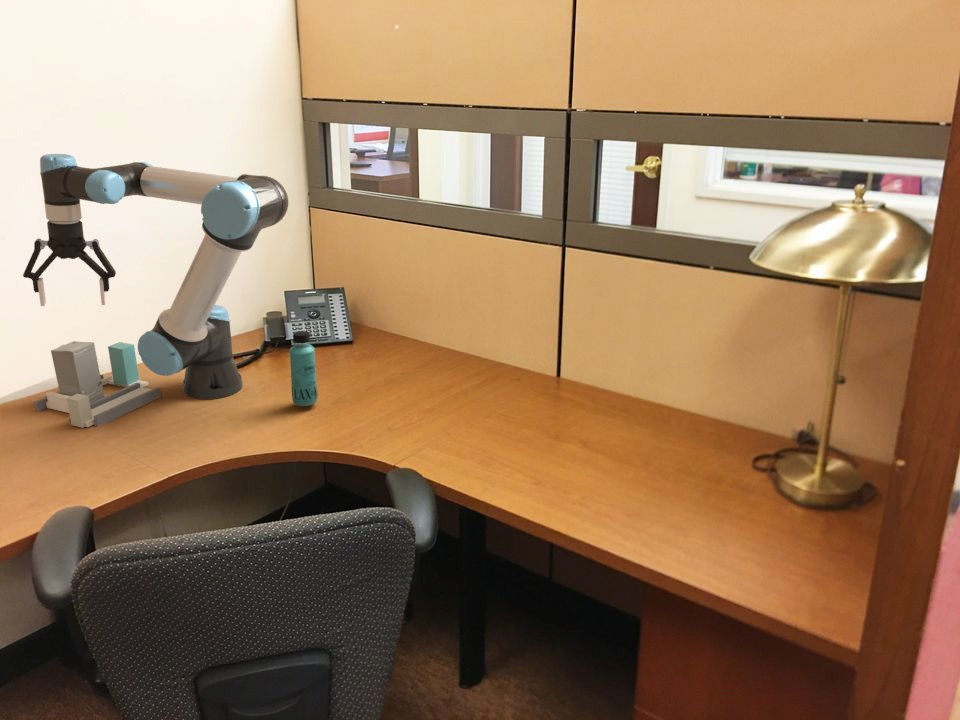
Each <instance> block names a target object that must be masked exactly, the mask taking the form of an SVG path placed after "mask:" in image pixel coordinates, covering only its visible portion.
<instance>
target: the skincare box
mask: <svg viewBox="0 0 960 720" xmlns="http://www.w3.org/2000/svg"><path fill="white" fill-rule="evenodd" d="M95 346H96V345H95V342H92V341H76V340H75V341H71V342H69V343H66V344H62V345H59V346H58V347H56V348H54V349H51V350H50V352H51V353H50V354H51V357H52V358H51V359H52V363H53V368H54V373H55V377H56V381H57V385H58V386H57V387H58V392H59V391H60V394H63V395H67V396H73V395H75V394H81V395H85V396H88V397H89V403H92V402H94V401H96V400H98V399H101V398H103V397H105V393H104V388H103V386H102V382H101V377H100V375H101V374H100V373H101V372H100V369H99V367H100V366H99V361H98V356H97V351H96V347H95Z"/></svg>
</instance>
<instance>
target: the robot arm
mask: <svg viewBox="0 0 960 720" xmlns="http://www.w3.org/2000/svg"><path fill="white" fill-rule="evenodd" d="M76 161H77V160H76V158H75V156H73V155H71V154H66V153H48V154H43V155H42V156H41V157H40V158H39V167H40V172H39V175H40V176H41V177H40V178H41V183H42V184H41V185H42V192H43V193H42V194H43V200H44V210H45V217H46V219H47V220H48V221H47V222H46V226H47V235H48V240H42V239H41V238H37V239H36V240H35V241H34V243H33V245H34V246H33V252H32V254H31V256H30V259H29V260H28V263H27V266H26V267H25V270H24V272H23V273H22V276H23V278H25V279H29V280H31V282H32V286H33V287H32V288H33V291H34V293H38V296H39V303H40V307H45V306H46V303H47V301H46V300H47V298H46V292H45V291H46V290H45V284H44V277H41V276H42V274H44V272H45V271H46V270H47V268H49V266H51V264H52V263H53V261H55V260H56V258H59V259H61V260H66V259H71V260H76V259H77V258H78V259H80V260H81V261H82V262H84V264H86V265H87V266H88V267H89V268H90V269H91V270H93V271H94V273H96V274H97V275H98V276H99V277H100V278H99V280H98V282H99V290H100V291H99V292H100V301H101V306H106V303H107V298H106V293H107V292H109V290H110V282H109V280H110V278H115V277H116V275H117V272H116V270H115V269H114V267H113V265H112V264H111V262H110V261H109V259H108V258H107V255H105V253H104V252H103V250H102V249H101V247H100V241H99V240H98V239H97V238H95V239H93V240H86V239H85V236H84V226H83V221H81V219H82V218H83V216H82V208H81V200H82V201H88V202H93V203H97V204H98V203H99V204H101V205H104V204H105V205H107V204H108V205H115V204H118V203H119V202H120V201H121V200H122V199H123V198H125V197H130V196H131V197H132V196H140V197H147V198H148V197H149V198H156V199H162V200H169V201H175V202H182V203H189V204H195V205H200V212H201V213H200V214H201V215H202V219H201V220H202V224H201V227H202V228H201V229H202V231H203V233H204V235H203V238H202V241H201V243H200V245H199V247H198V248H197V251H196V253H195V256H194V258H193V259H192V261H191V263H190V264H191V265H190V266H189V268H188V271H187V272H186V274H185V276H184V279H183V281H182V283H181V285H180V287H179V289H178V292H177V294H176V296H175V298H174V300H173V302H172V304H171V306H170V308H168V309H164V310H162V311H161V312H160V314H159V316H158V318H157V319H156V322H155V324H154V326H153V328H152V329H151V330H148V331H145V332H144V333H143V334H142V335H141V336H140V337H139V338H138V341H137V352H138V355H139V356H140V359H141V361H142V363H143V364H144V366H145V367H146V368H147V369H149V370H150V371H151V372H152V373H154V374H156V375H159V376H163V377H169V376H172V375H175V374H178V373H180V372H181V371H183V370H185V372H184V380H182V381H183V382H182V391H183V394H184V395H185V396H187V397H189V398H192V399H196V400H197V399H198V400H213V399H214V400H215V399H220V398H225V397H228V396H231V395H234V394H236V393H238V392H240V390H242V388H243V387H244V386H243V377H242V375H241V374H240V373H239V370H238V366H237V364H236V362H235V360H234V353H233V345H232V334H231V320H230V316H229V311H228V309H227V308H226V307H224V306H222V305H218V304H216V303H217V301H218V299H219V297H220V295H221V294H222V291H223V289H224V287H225V285H226V283H227V281H228V280H229V277H230V275H231V273H232V271H233V270H234V267H235V265H236V264H237V262H238V260H239V257H240V255H241V254H242V252H248V251H249V250H251V249H252V248H253V246H254V244H255V242H256V240H257V237H258V236H259V234H260V232H261V231H262V230H264V229H266V228H269V227H272V226H275V225H277V224H278V223H280V222H281V221H283V219H284V217H285V216H286V214H287V211H288V209H289V196H288V193H287V191H286V189H285V188H284V186H283V185H282V184H281V182H279V181H278V180H277V179H275V178H273V177H271V176H267V175H256V174H255V175H254V174H246V173H245V174H244V173H243V174H240V175H238V176H237V177H234V176H230V175H229V176H228V175H227V176H226V175H222V174H221V175H219V174H213V173H205V172H197V171H190V170H183V169H175V168H167V167H161V166H160V167H158V166H154V165H152V164H151V163H148V162H145V161H143V162H141V161H133V162H130V163H125V164H119V165H113V166H112V165H111V166H104V167H98V168H96V167H95V168H89V167H82V166H79V165H78V164H77V162H76ZM46 246H47V247H48V248H49V249H50V250H51V253H50V255H49V256H48V257H47V258H46V259H45V260H44V262H43V263H42V264H41V265H39V267H38V269H36V271H35V272H32V270H33V269H34V267H35V264H36V263H37V260H38V258H39V256H40V253H41V252H42V250H44V249H45V248H46ZM86 247H89V249H90V250H92V251H93V252H94V254H95V256H96V257H97V259H98V260H99V262H100V263H101V264H102V266H103V267H104V269H103V268H102V267H101V266H100V265H99V264H98V263H97V262H96V261H95V260H94V259H93V258H92V257H91V255H89V254H88V253H87V252H86V251H85V249H86Z"/></svg>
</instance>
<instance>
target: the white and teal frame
mask: <svg viewBox="0 0 960 720" xmlns="http://www.w3.org/2000/svg"><path fill="white" fill-rule="evenodd" d="M107 349H108V350H107V351H108V355H109V362H110V368H111V374H112V375H108V376H105V377H104V378H103V379H101V382H102V387H103V386H105V385H107V384H109V385H113V386H118V387H122V388H126V387H128V386H130V385H132V384H135V383H140V387H142V388H145V387H147V386H149V381H147V380H146V381H144V380H140V377H139V369H138V363H137V362H138V361H137V355H136V350H135V349H136V348H135V344H132V343H127V342H123V341H122V342H121V341H119V342H117V343H114V344H111V345H109V346H107ZM46 397H47V399H48V402H46V405H47V408H46V409H51V410H55V411H59V412H63V413H68V414H69V409H68V403H67V398H68V397H70V396H67V395H63V394H59V393H56V392H53V391H50V390H49V391H48V392H46Z"/></svg>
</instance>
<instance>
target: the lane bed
mask: <svg viewBox="0 0 960 720" xmlns="http://www.w3.org/2000/svg"><path fill="white" fill-rule="evenodd" d="M100 377H101V379H103V378H105V377H104V375H103V374H100ZM138 388H140V383H135V384H132V385H130V386H128V387H122V388H121V389H119V390H116V391H114V392H112V393H110V394H108V395H104V397H103V398H101V399H98V400H96V401H94V402H92V403H90V408H91V409H93V408H96V407H98V406H100V405H102V404H105V403H107V402H109V401H111V400H113V399H116V398H118V397H120V396H122V395H125V394H127V393H129V392H131V391H133V390H136V389H138ZM161 392H162V391H161V388H160V387H159V386H156V387H154V388H152V389H151V390H150V391H147V392H145V393H143V394H141V395H139V396H137V397H134V398H132V399H130V400H128V401H126V402H124V403H121V404H119V405H117V406H115V407H113V408H111V409H108V410H106V411H104V412H102V413H100V414H97V415H95V416H94V421H95V424H94V426H95V427H101V426H103V425H104V424H107V423H109V422H111V421H113V420H115V419H117V418H119V417H121V416H123V415H125V414H128V413H130V412H131V411H134V410H135V409H138V408H140V407H142V406H144V405H146V404H148V403H151V402H153V401H155V400H156V399H158V398H161V397H162V393H161ZM55 393H59V394H60V391H59V390H58V391H57V392H55ZM46 402H48V399H47V396H45V397H42V398H39V399H37V400H35V401H34V407H35V411H36V412H42V411H44V410H47V409H48V408H47V405H46Z"/></svg>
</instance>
